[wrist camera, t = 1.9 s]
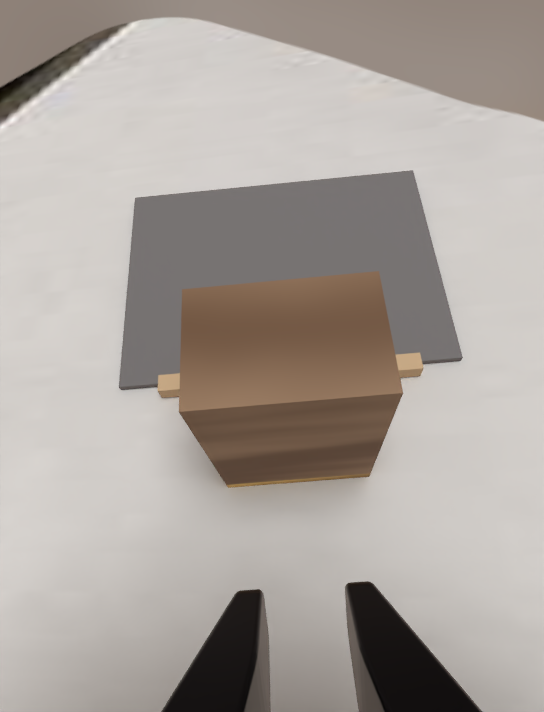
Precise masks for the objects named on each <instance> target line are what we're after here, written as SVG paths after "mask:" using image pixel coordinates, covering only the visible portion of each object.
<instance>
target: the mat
mask: <svg viewBox="0 0 544 712" xmlns="http://www.w3.org/2000/svg"><path fill="white" fill-rule="evenodd" d="M374 271H379V274H380V279H381V284H382V289H383V294H384V299H385V304H386V309H387V314H388V320H389V325H390V330H391V335H392V340H393V345H394V350H395V355H396V360H397V365H398V370H399V375H400V378H401V377H413V376H420V375H421V373H422V371H423V364H426V363H438V362H450V361H461V359H462V358H463V357H462V354H461V350H460V346H459V342H458V338H457V335H456V331H455V327H454V323H453V320H452V316H451V312H450V308H449V305H448V301H447V297H446V293H445V290H444V286H443V282H442V278H441V274H440V271H439V267H438V263H437V259H436V256H435V252H434V248H433V244H432V241H431V237H430V233H429V229H428V226H427V222H426V218H425V214H424V210H423V207H422V203H421V199H420V195H419V192H418V188H417V184H416V180H415V177H414V173H413V171H402V172H392V173H382V174H372V175H362V176H352V177H342V178H331V179H321V180H311V181H301V182H291V183H281V184H271V185H260V186H250V187H240V188H230V189H220V190H210V191H200V192H189V193H179V194H169V195H159V196H149V197H139V198H135V206H134V217H133V229H132V241H131V252H130V264H129V276H128V287H127V299H126V311H125V322H124V334H123V346H122V357H121V369H120V381H119V388H120V389H121V390H123V389H135V388H146V387H158V392H159V394H160V395H161V397H162V398H166V397H178V396H179V390H180V350H181V310H182V289H191V288H201V287H212V286H223V285H234V284H245V283H255V282H266V281H277V280H288V279H299V278H310V277H320V276H331V275H342V274H353V273H364V272H374Z"/></svg>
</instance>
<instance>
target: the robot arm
mask: <svg viewBox="0 0 544 712" xmlns="http://www.w3.org/2000/svg"><path fill="white" fill-rule="evenodd" d="M345 596H346V613H347V628H348V637H349V645H350V652H351V659H352V666H353V673H354V680H355V688H356V695H357V702H358V709H359V712H482V711H481V710H480V709H479V707H478V706H477V705H476V704H475V703H474V701H473V700H472V699H471V698H470V697H469V696H468V694H467V693H466V692H465V691H464V690H463V689H462V687H461V686H460V685H459V684H458V683H457V682H456V680H455V679H454V678H453V677H452V676H451V675H450V673H449V672H448V671H447V670H446V669H445V667H444V666H443V665H442V664H441V663H440V662H439V660H438V659H437V658H436V657H435V656H434V655H433V653H432V652H431V651H430V650H429V649H428V648H427V646H426V645H425V644H424V643H423V642H422V640H421V639H420V638H419V637H418V636H417V635H416V633H415V632H414V631H413V630H412V629H411V628H410V626H409V625H408V624H407V623H406V622H405V621H404V619H403V618H402V617H401V616H400V615H399V614H398V612H397V611H396V610H395V609H394V608H393V606H392V605H391V604H390V603H389V602H388V601H387V599H386V598H385V597H384V596H383V595H382V594H381V592H380V591H379V590H378V589H377V588H376V587H375V585H374V584H373V583H371V582H354V583H348V584H347V585H346V587H345ZM162 712H270V665H269V635H268V626H267V618H266V609H265V601H264V595H263V592H262V591H261V590H258V589H257V590H244V591H238V592H237V593H236V594H235V595H234V597H233V598H232V600H231V601H230V603H229V605H228V606H227V608H226V609H225V611H224V613H223V614H222V616H221V617H220V619H219V621H218V622H217V624H216V625H215V627H214V629H213V630H212V632H211V633H210V635H209V637H208V638H207V640H206V641H205V643H204V645H203V646H202V648H201V649H200V651H199V653H198V654H197V656H196V657H195V659H194V660H193V662H192V664H191V665H190V667H189V668H188V670H187V672H186V673H185V675H184V676H183V678H182V680H181V681H180V683H179V684H178V686H177V688H176V689H175V691H174V692H173V694H172V696H171V697H170V699H169V700H168V702H167V704H166V705H165V707H164V708H163V710H162Z"/></svg>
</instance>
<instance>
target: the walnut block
mask: <svg viewBox="0 0 544 712" xmlns="http://www.w3.org/2000/svg"><path fill="white" fill-rule="evenodd" d="M402 394H403V391H402V386H401V381H400V375H399V370H398V365H397V360H396V355H395V350H394V345H393V340H392V335H391V330H390V325H389V320H388V314H387V309H386V304H385V299H384V294H383V289H382V284H381V279H380V274H379V271H374V272H364V273H353V274H342V275H331V276H320V277H310V278H299V279H288V280H277V281H266V282H255V283H245V284H234V285H223V286H212V287H201V288H191V289H182V310H181V350H180V390H179V413H180V414H181V416H182V417H183V419H184V420H185V422H186V423H187V425H188V427H189V428H190V430H191V431H192V433H193V434H194V436H195V437H196V439H197V440H198V442H199V443H200V445H201V447H202V448H203V450H204V451H205V453H206V454H207V456H208V457H209V459H210V460H211V462H212V463H213V465H214V466H215V468H216V470H217V471H218V473H219V474H220V476H221V477H222V479H223V480H224V482H225V483H226V485H227V486H228V488H229V487H242V486H255V485H267V484H280V483H293V482H306V481H318V480H331V479H344V478H357V477H369V476H370V473H371V471H372V468H373V466H374V463H375V461H376V458H377V456H378V453H379V451H380V448H381V446H382V444H383V441H384V439H385V436H386V434H387V431H388V429H389V426H390V424H391V421H392V419H393V416H394V414H395V411H396V409H397V406H398V404H399V402H400V399H401V397H402Z"/></svg>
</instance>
